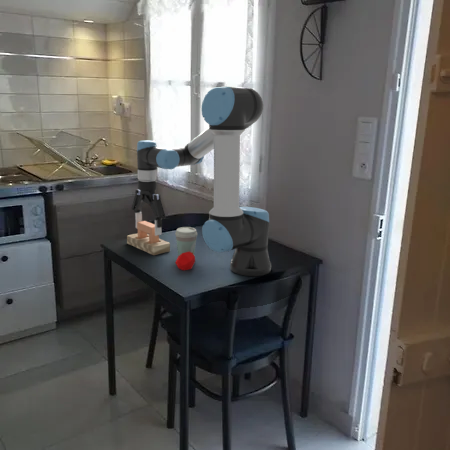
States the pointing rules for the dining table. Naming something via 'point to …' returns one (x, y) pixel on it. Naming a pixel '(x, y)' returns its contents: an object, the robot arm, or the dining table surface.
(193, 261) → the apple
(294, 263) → the dining table surface
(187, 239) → the coffee cup
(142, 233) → the clip
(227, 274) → the dining table surface
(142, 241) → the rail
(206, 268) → the dining table surface
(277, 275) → the dining table surface
